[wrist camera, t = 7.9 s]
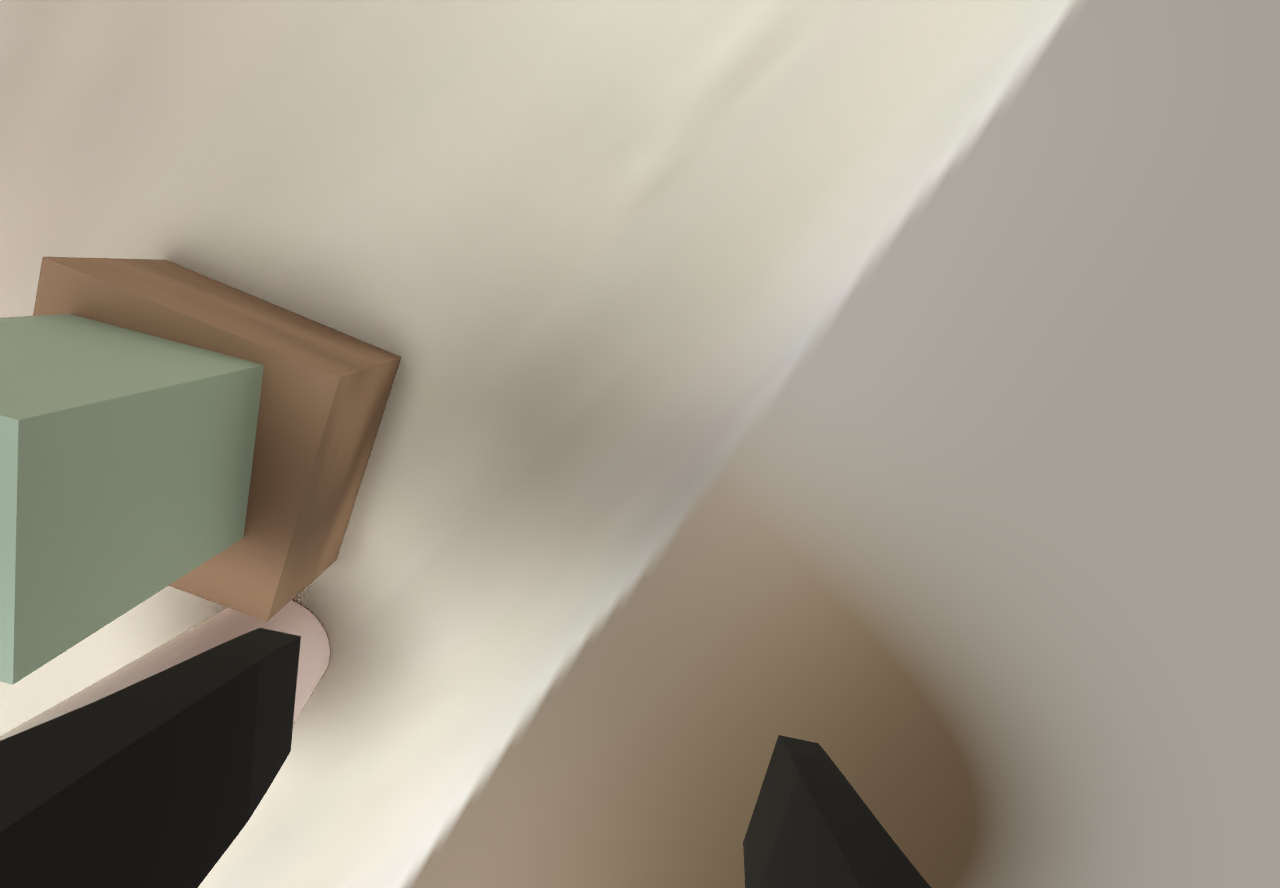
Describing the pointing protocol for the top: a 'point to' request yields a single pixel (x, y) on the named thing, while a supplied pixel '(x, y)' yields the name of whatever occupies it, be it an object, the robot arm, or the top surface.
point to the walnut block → (287, 420)
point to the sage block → (111, 474)
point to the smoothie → (201, 640)
